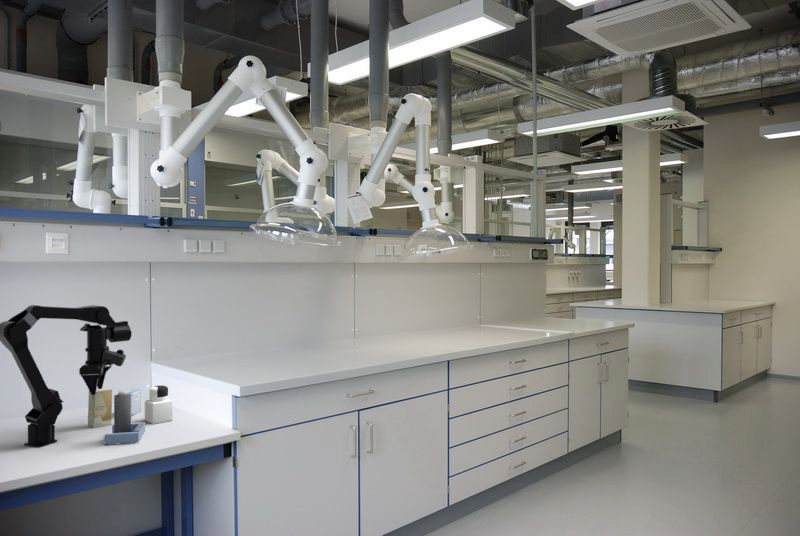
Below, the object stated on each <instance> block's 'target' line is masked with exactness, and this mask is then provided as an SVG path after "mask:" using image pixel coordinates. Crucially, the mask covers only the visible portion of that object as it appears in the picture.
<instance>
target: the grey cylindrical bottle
mask: <svg viewBox="0 0 800 536" xmlns="http://www.w3.org/2000/svg"><path fill="white" fill-rule="evenodd" d="M113 398H114V400H113V402H114V403H113V404H114V405H113V408H114V409H113V424H114V433H125V432H131V423H132V416H131V394H127V391H125V390H119V391H118V393H117V394H115V395H114V397H113Z"/></svg>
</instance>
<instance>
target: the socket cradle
mask: <svg viewBox="0 0 800 536" xmlns="http://www.w3.org/2000/svg"><path fill="white" fill-rule="evenodd" d="M111 427H112V428H111V429H112V431H111V432H110V433H104V437H103V438H104V442H103V443H104V444H112V445H118V444H117V443H126V444H132V443H131V442H138V443H140V441H139V440H141V439H142V438H143V435H144V434H145V432H146V422H131V432H125V433H114V423H113V424H111Z"/></svg>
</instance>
